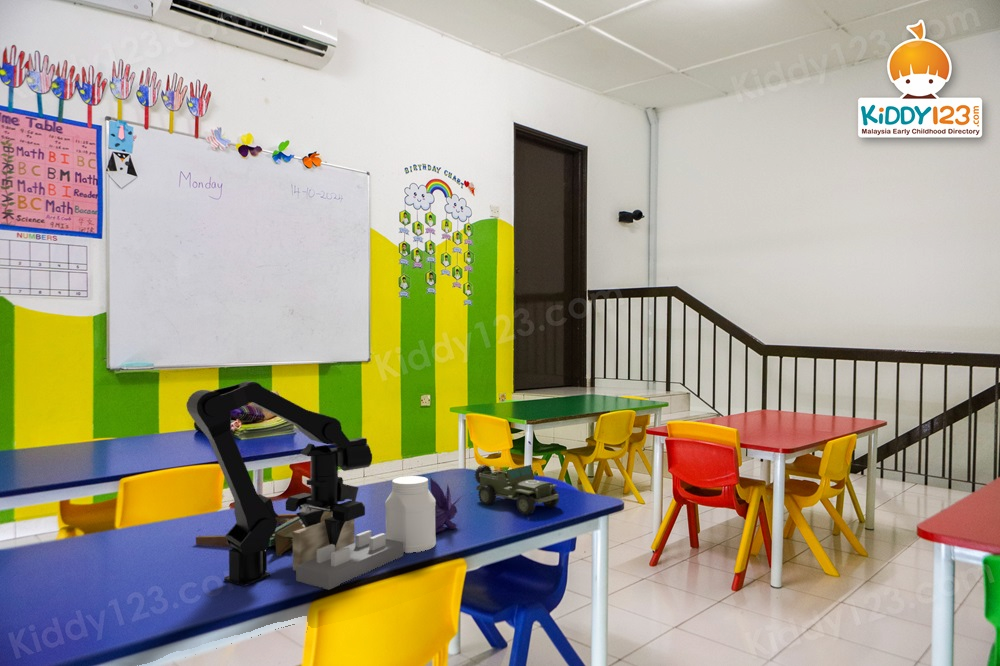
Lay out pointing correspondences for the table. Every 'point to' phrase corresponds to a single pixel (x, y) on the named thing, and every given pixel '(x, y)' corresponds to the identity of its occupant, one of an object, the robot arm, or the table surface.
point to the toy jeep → (515, 488)
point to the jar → (411, 514)
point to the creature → (443, 507)
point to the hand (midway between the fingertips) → (325, 546)
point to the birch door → (318, 541)
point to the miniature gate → (279, 538)
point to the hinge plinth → (348, 560)
